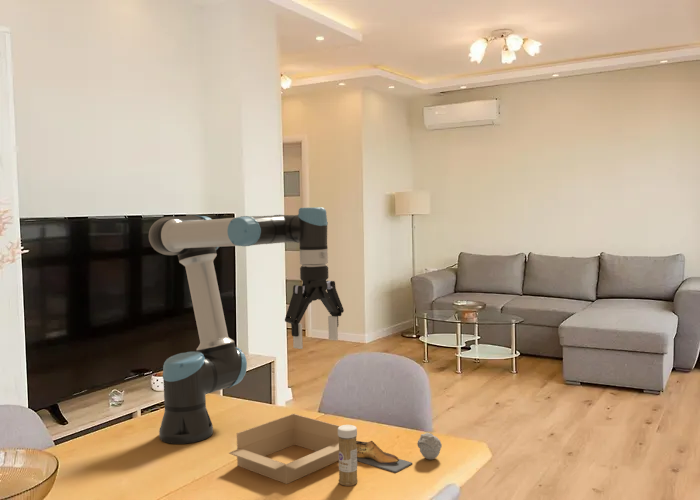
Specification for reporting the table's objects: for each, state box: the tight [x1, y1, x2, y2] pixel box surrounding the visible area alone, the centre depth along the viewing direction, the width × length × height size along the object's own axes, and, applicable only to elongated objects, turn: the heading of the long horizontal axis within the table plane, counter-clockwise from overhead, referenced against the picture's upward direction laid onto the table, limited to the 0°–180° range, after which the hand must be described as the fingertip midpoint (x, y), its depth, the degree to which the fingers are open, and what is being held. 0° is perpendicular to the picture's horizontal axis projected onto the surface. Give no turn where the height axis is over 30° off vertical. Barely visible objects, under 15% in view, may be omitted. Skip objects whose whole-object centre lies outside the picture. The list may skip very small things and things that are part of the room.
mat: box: [357, 458, 413, 474], centre depth 172 cm, size 17×7×1 cm, turn 49°
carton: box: [228, 413, 340, 485], centre depth 170 cm, size 21×23×8 cm
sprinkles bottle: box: [338, 424, 359, 487], centre depth 159 cm, size 5×5×13 cm
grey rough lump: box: [416, 432, 442, 460], centre depth 172 cm, size 6×7×7 cm
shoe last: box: [356, 440, 400, 464], centre depth 173 cm, size 4×14×5 cm, turn 56°
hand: (316, 344), depth 180 cm, fingers open, 13 cm apart
